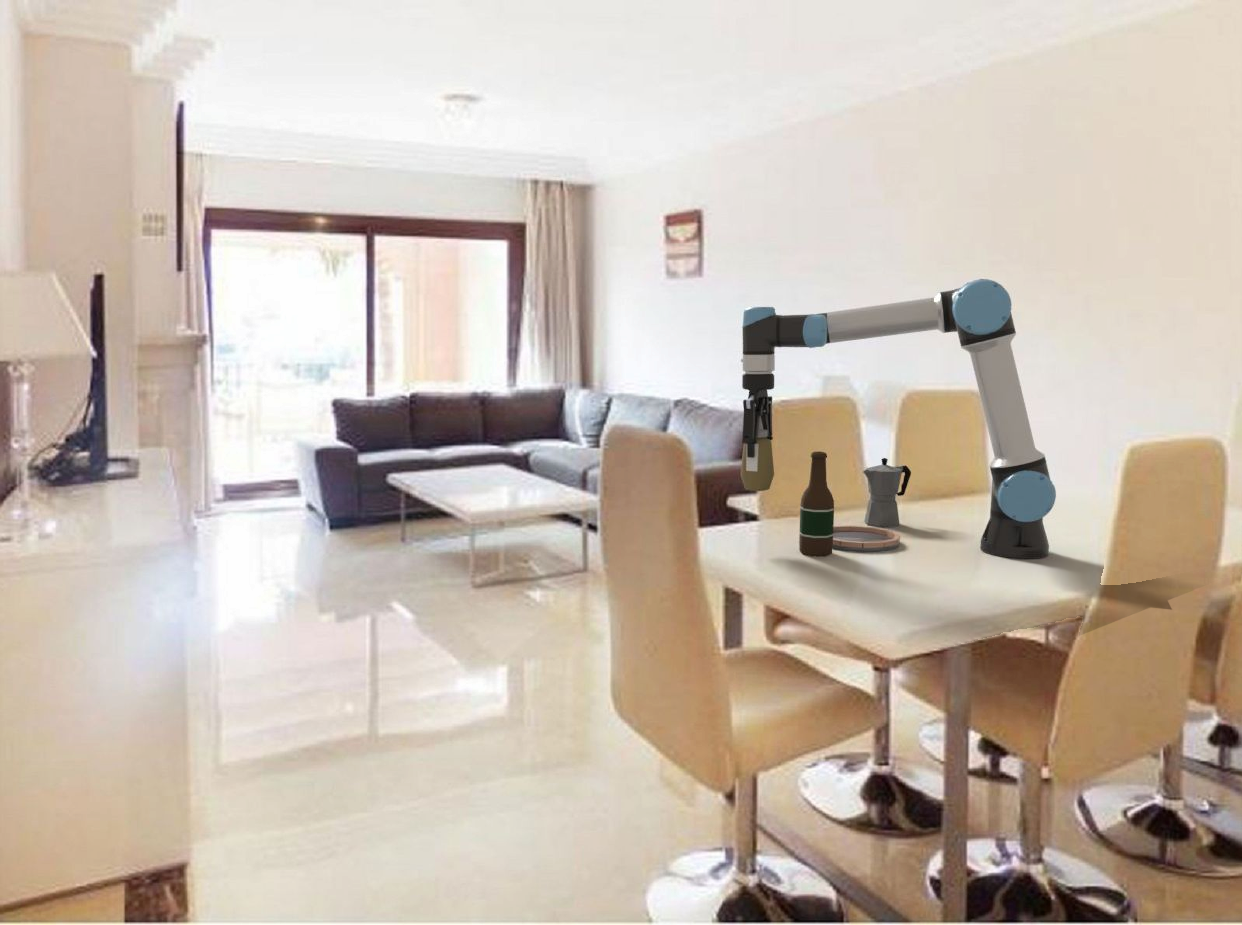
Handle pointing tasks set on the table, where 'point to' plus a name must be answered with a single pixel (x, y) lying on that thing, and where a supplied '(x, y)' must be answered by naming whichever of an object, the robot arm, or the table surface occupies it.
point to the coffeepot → (884, 493)
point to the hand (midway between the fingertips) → (757, 468)
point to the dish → (864, 538)
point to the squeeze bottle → (759, 464)
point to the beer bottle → (817, 511)
